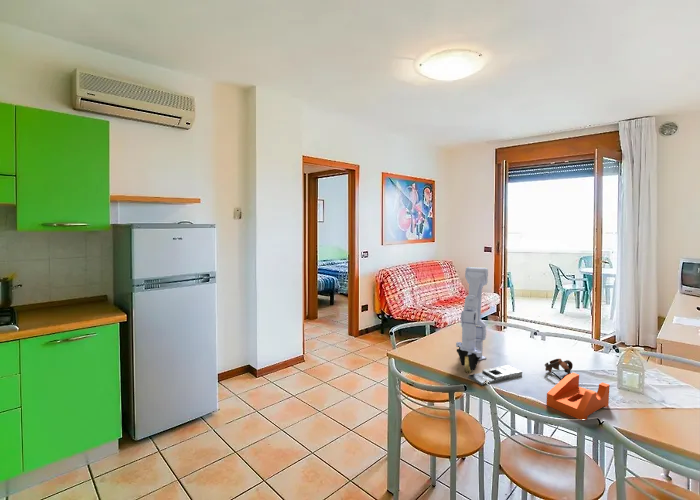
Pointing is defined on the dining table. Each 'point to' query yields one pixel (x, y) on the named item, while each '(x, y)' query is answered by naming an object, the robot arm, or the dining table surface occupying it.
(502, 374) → the white grey flat block
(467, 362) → the brass pin
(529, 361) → the dining table surface
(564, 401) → the orange notched block
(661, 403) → the dining table surface
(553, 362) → the brown jointed arch
